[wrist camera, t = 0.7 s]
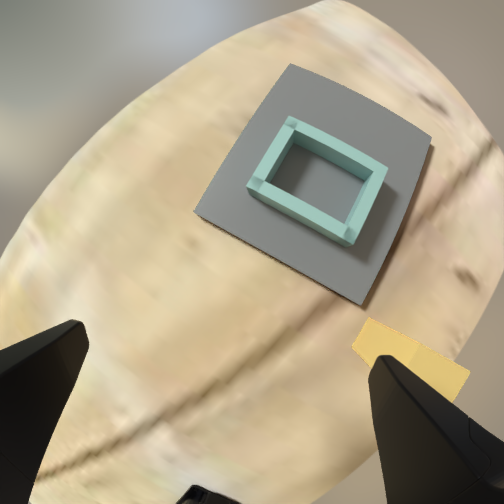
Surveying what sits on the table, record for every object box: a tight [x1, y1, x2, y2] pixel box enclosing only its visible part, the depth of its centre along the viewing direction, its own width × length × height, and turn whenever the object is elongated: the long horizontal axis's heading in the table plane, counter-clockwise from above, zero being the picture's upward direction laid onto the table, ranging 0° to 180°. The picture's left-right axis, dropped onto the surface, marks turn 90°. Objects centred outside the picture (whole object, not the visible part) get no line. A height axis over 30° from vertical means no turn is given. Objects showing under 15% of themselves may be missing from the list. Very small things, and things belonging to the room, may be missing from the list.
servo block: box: [352, 317, 470, 403], centre depth 18 cm, size 3×5×10 cm, turn 61°
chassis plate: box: [194, 64, 432, 306], centre depth 22 cm, size 18×16×4 cm
